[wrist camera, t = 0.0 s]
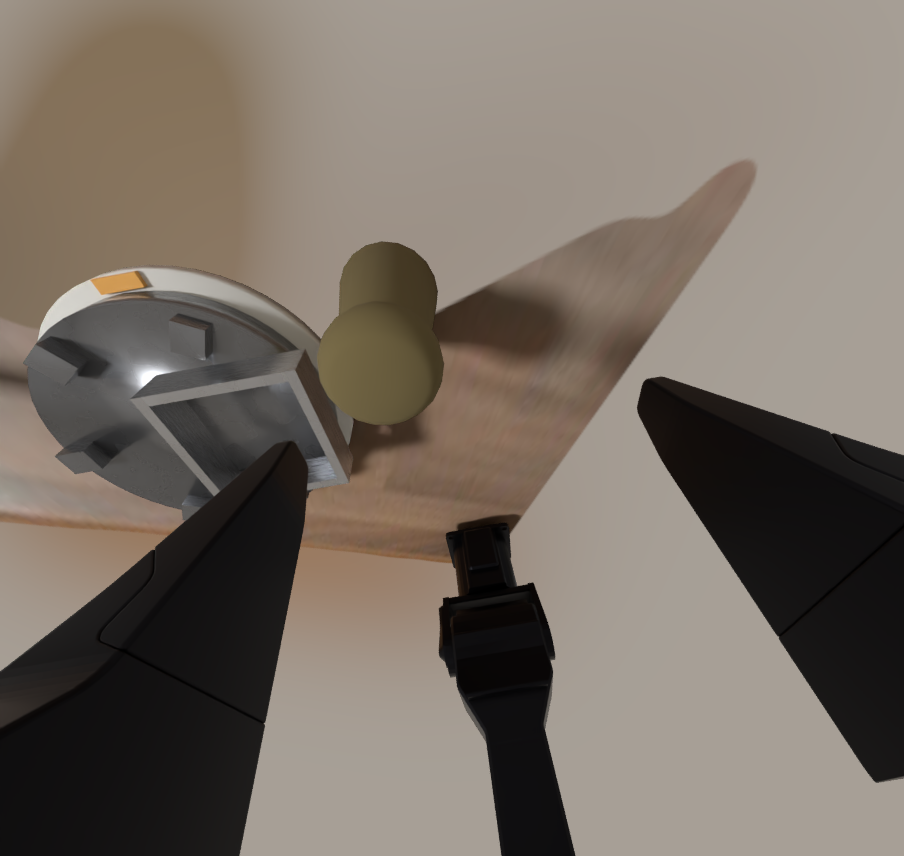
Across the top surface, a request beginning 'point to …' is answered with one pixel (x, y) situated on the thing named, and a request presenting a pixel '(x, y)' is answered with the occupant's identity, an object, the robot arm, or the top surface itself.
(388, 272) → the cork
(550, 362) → the top surface
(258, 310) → the base plate
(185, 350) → the grey tabbed disc
